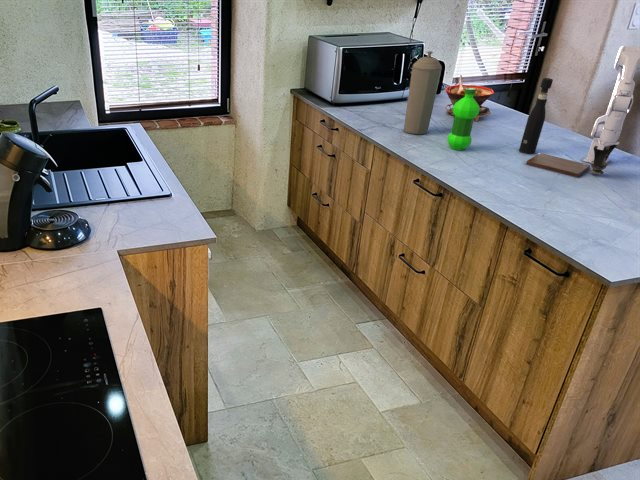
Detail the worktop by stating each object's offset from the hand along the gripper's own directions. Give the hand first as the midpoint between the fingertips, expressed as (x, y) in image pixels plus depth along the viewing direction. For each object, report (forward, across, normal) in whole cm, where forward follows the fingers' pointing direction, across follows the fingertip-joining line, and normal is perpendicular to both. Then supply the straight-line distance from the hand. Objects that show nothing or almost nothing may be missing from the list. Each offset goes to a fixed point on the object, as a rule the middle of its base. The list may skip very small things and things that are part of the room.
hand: (599, 163), depth 229 cm
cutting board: (+5, -1, +14) cm, 15 cm away
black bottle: (+5, +8, +30) cm, 31 cm away
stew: (+5, +44, +76) cm, 88 cm away
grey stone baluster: (+4, 0, 0) cm, 4 cm away
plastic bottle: (+5, -10, +53) cm, 54 cm away
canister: (+5, -2, +78) cm, 78 cm away
